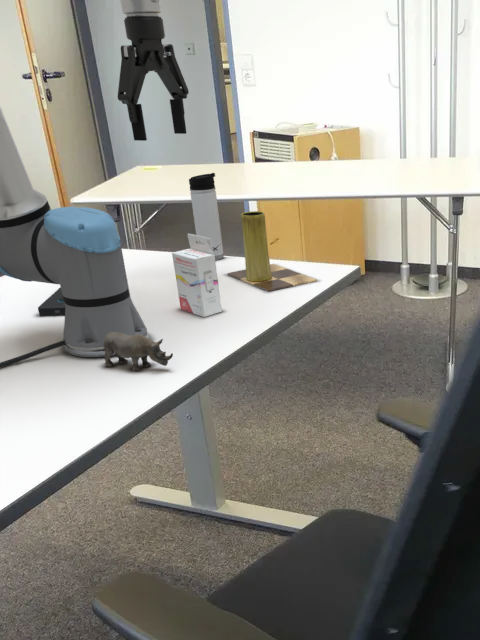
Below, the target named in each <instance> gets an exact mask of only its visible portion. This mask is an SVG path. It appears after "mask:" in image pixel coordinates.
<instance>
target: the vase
mask: <svg viewBox="0 0 480 640" xmlns="http://www.w3.org/2000/svg"><path fill="white" fill-rule="evenodd" d="M240 218H241V228H242V237H243V249H244V261H245V262H244V263H245V270H246V279H247V280H248V281H252V282H261V281H267V280H270V279H271V278H272V274H271V268H270V264H271V263H270V262H271V261H270V255H269V248H268V235H267V225H266V214H265V212H264V211H259V210H255V211H254V210H251V211H245V212H242V213H241V214H240Z"/></svg>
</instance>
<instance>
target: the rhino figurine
mask: <svg viewBox="0 0 480 640" xmlns="http://www.w3.org/2000/svg"><path fill="white" fill-rule="evenodd" d="M163 340H164V338H161V339H160V340H158V341H155V340H152V339H150V338H149V337H148V338H147V337H145V336H143V335H139V334H137V335H133V336H129V335H125V334H123V333H119V332H109V333H108V334H107V335H106V337H105V340H104V350H105V354H104V357H103V358H104V366H105V367H113V366H114V362H113V361H112V360H111V358H112V357H113V356H112V355H113V354H114V352H115V355H114V356H116V357H117V358H118V359H117V361H118V363H120V364H127V363H128V362H129V360H128V359H131V362H132V364H131V369H132V371H140V369H141V367H140V365H139V361H140V359H141V362H142V363H141V365H142V367H146V368H147V367H151V366H152V363H151V362H149V361H148V357H149V359H150V360H151V361H152V362H155V363H157V364H159V365H161V366H164V367H167V366H168V363H169V361H170V360H171V359H172V358H173V355H174V353H173V352H171V353H170V354H169V355H166V353H167V352H166V351H164V350H162V349H161V346H160V345H161V344H162V343H163Z"/></svg>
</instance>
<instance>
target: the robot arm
mask: <svg viewBox="0 0 480 640" xmlns="http://www.w3.org/2000/svg"><path fill="white" fill-rule="evenodd" d="M120 4H121V13H122V14H123V15H125V17H124V19H123V22H124V29H125V36H126V38H127V40H129V41H130V42H131V44H130V45H128V44H127V45H125V44H123V45H121V46H120V55H121V63H120V70H119V80H118V88H117V89H118V90H117V100H118V101H119V102H121V103H122V104H123V105H126V107H127V108H126V109H127V113H128V119H129V122H130V124H131V125H130V126H131V130H132V135H133V141H142V142H143V141H147V140H148V138H147V132H146V125H145V120H144V113H143V107H142V103H138V102H139V99H140V97H141V92H142V90H143V87H144V82H145V78H146V76H147V74H148V73H149V72H154V73H156V74H157V75H158V77H159V79H160V80H161V82H162V83H163V85H164V87H165V88H166V90H167V92H168V93H169V95H170V96H171V98H170V99H169V104H170V105H169V106H170V112H171V113H170V114H171V119H172V126H173V131H174V132H173V133H174V134H175V135H176V134H177V135H181V134H183V135H187V126H186V119H185V107H184V99H185V100H186V99H187V98H188V95H189V93H190V92H189V88H188V86H187V85H188V84H187V83H186V81H185V78H184V75H183V73H182V70H181V68H180V65H179V63H178V61H177V58H176V55H175V54H176V53H175V49H174V45H173V44H171V43H168V44H165V43H164V44H163V42H162V41H163V40H164V39H165V38H166V33H165V26H164V20H163V18H162V16H160V15H159V14H161V13H162V6H161V0H120ZM22 159H23V158H22V157H21V154H20V151H19V149H18V146H17V145H16V142H15V140H14V137H13V135H12V131H11V129H10V127H9V124H8V122H7V120H6V117H5V115H4V111H3V109H2V107H1V106H0V273H1V274H2V275H4V276H6V277H9V278H12V279H16V280H20V281H22V282H37V283H44V284H52V285H59V286H60V287H61V290H62V294H63V298H64V302H65V308H66V309H65V315H64V321H63V333H62V334H63V335H62V337H63V338H62V340H60V341H57V342H54V343H52V344H49V345H46V346H43V347H41V348H37V349H35V350H32V351H30V352H28V353H25V354H22V355H19V356H17V357H13V358H10V359H7V360H3V361H1V362H0V369H1V368H4V367H7V366H10V365H13V364H16V363H20V362H22V361H25V360H28V359H30V358H33V357H35V356H38V355H41V354H43V353H46V352H49V351H52V350H55V349H58V348H60V347H64V349H65V351H66V353H68V354H69V355H71V356H76V357H82V358H105V357H104V354H105V350H104V340H105V337H106V335H107V334H108V333H109V332H119V333H123V334H125V335H129V336H133V335H137V334H139V335H143V336H145V337H147V338H149V334H148V328H147V326H146V325H145V322H144V321H143V319H142V317H141V315H140V314H139V311H138V310H137V308H136V305H135V304H134V301H133V300H132V297H131V294H130V287H129V283H128V282H129V281H128V276H127V271H126V266H125V259H124V255H123V254H124V253H123V248H122V243H121V237H120V234H119V232H118V227H117V225H116V222H115V220H114V218H113V217H112V216H111V215H110V214H109V213H107V212H105V211H103V210H101V209H98V208H93V207H87V206H81V207H80V206H79V207H77V206H61V207H56V208H52V209H51V205H50V203H49V201H48V198H47V196H46V195H45V194H43V193H41V192H39V191H37V190H35V189H34V186H33V184H32V181H31V180H30V179H31V178H30V177H29V173H28V172H27V168H26V167H25V165H24V161H23V160H22ZM114 356H116V355H115V352H114V354H113V355H112V356H111V357H114Z"/></svg>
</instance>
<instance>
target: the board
mask: <svg viewBox="0 0 480 640" xmlns="http://www.w3.org/2000/svg"><path fill="white" fill-rule="evenodd" d="M270 268H271V274H272V278H271V279H270V280H267V281H261V282H252V281H248V280H247V279H246V269H242V270H241V269H240V270H236V271H232V272H231V271H230V272H227V276H230V277H232V278H234V279H237V280H239V281H242V282H244V283H246V284H248V285H251V286H253V287H256V288H259V289H261V290H263V291H266V292H268V293H269V292H273V291H278V290H284V289H287V288H292V287H297V286H300V285H305V284H310V283H315V282H317V280H318V279H317V278H314V277H311V276H308V275H306V274H303V273H300V272H298V271H295V270H292V269H289V268H286V267H284V266H281V265H278V264H275V263H270Z"/></svg>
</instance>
